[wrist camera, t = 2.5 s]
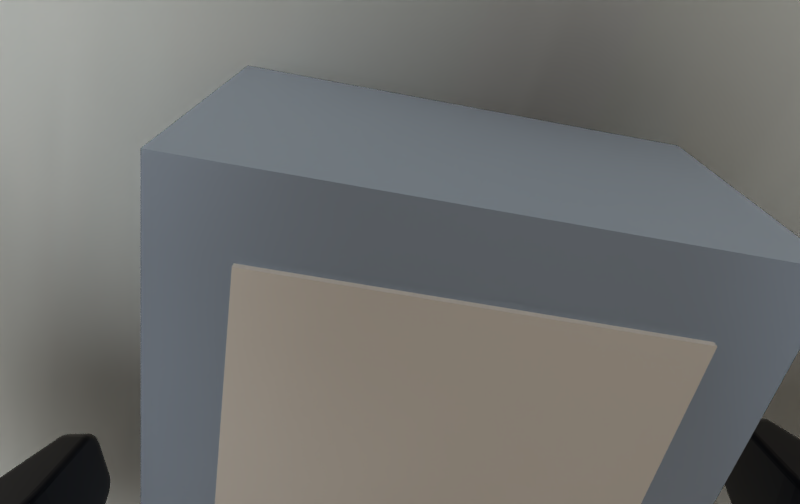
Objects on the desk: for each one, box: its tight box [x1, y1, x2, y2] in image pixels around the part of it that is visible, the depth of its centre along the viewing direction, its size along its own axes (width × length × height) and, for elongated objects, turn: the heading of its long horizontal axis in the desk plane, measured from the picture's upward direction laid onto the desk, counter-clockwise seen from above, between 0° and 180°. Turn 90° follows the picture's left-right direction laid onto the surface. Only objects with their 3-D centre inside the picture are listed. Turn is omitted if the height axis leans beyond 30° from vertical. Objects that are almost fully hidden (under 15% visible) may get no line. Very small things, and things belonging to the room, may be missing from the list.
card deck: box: [141, 66, 800, 504], centre depth 9 cm, size 6×9×4 cm, turn 170°
